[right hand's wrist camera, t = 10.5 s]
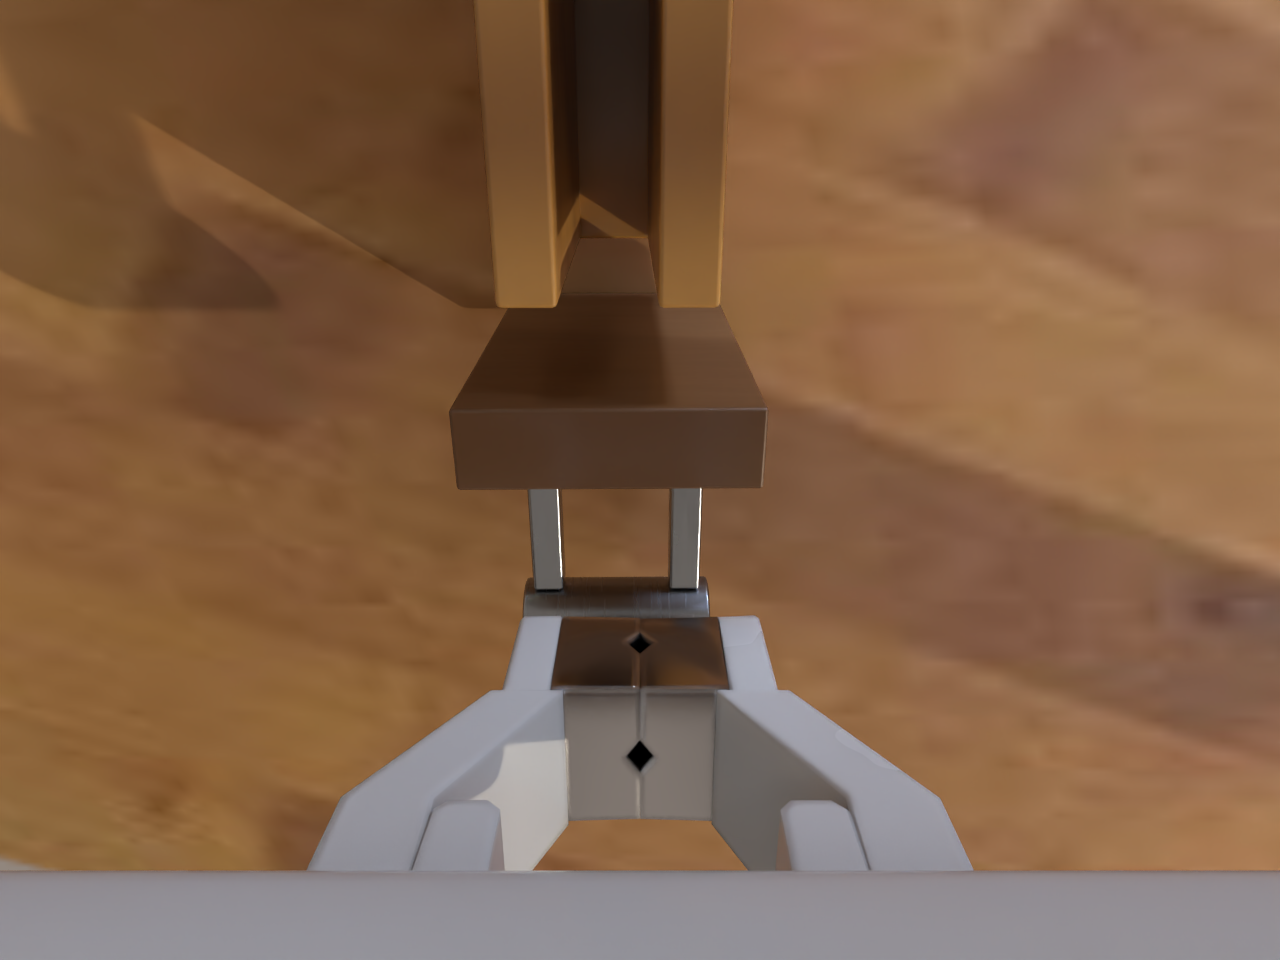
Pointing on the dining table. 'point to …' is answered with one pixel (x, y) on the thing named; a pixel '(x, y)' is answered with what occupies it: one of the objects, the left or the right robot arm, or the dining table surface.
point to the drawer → (608, 322)
